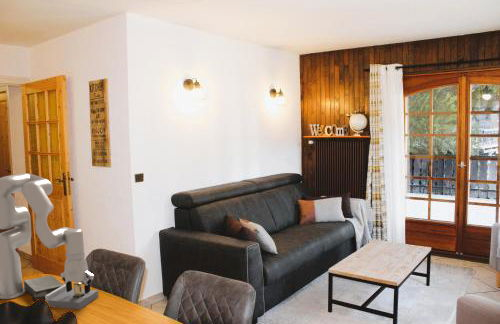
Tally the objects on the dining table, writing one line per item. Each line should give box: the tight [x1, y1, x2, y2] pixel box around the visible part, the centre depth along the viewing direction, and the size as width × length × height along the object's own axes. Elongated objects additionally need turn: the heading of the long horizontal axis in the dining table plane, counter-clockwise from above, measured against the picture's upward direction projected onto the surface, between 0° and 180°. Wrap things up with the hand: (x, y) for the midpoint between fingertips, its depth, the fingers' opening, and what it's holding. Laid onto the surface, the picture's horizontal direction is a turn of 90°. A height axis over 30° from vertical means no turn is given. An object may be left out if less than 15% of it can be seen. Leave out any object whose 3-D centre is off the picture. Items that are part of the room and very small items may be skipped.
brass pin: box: [73, 281, 84, 298], centre depth 199 cm, size 4×4×9 cm
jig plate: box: [44, 283, 100, 310], centre depth 200 cm, size 18×14×5 cm
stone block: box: [23, 274, 64, 301], centre depth 212 cm, size 14×20×5 cm
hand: (78, 291), depth 199 cm, fingers open, 9 cm apart
